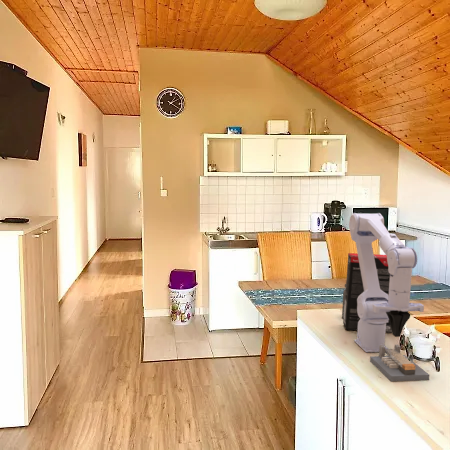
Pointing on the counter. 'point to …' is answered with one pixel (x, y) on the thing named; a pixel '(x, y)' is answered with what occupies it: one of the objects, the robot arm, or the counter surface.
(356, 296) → the graphics card box
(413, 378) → the heatsink base
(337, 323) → the counter surface
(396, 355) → the orange-ended grey bar
